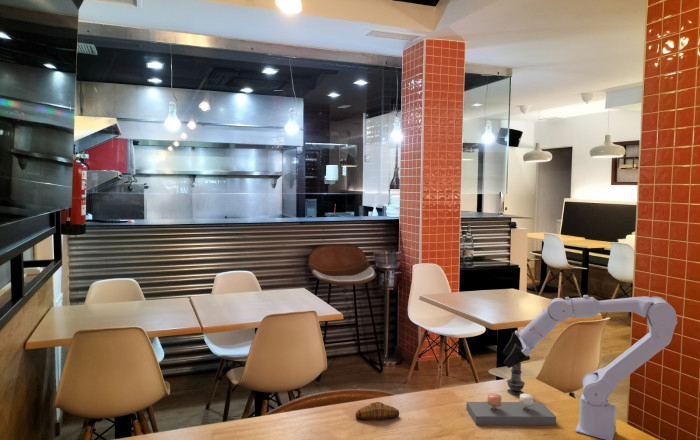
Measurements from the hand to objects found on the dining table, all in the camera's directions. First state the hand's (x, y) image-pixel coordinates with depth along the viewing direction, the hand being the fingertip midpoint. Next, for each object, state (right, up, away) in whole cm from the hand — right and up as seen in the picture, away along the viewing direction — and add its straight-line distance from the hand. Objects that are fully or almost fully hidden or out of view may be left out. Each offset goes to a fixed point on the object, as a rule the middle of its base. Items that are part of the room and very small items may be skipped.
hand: (505, 359), depth 150 cm
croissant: (-40, -17, -4) cm, 43 cm away
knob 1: (-4, -14, -2) cm, 15 cm away
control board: (+1, -17, -1) cm, 17 cm away
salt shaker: (+9, -16, +17) cm, 25 cm away
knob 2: (+6, -15, -1) cm, 16 cm away
